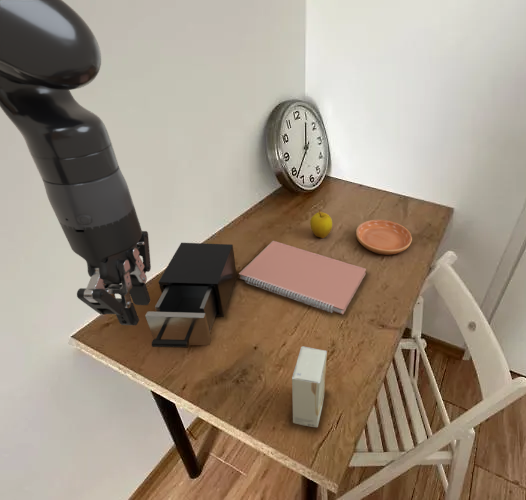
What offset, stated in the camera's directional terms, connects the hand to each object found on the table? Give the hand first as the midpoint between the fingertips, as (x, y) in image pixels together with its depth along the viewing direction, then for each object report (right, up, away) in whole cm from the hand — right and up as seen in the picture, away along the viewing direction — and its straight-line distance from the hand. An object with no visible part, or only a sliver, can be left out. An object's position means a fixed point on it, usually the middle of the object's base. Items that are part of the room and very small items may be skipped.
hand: (136, 312), depth 51 cm
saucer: (+42, +11, +52) cm, 68 cm away
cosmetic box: (+24, -18, +10) cm, 32 cm away
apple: (+24, +13, +53) cm, 60 cm away
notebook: (+20, +2, +38) cm, 43 cm away
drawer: (-1, -7, +21) cm, 22 cm away
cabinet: (-2, -1, +31) cm, 31 cm away
